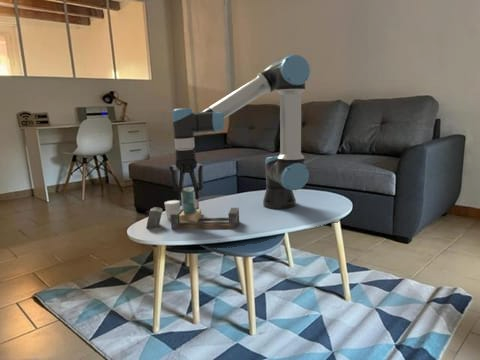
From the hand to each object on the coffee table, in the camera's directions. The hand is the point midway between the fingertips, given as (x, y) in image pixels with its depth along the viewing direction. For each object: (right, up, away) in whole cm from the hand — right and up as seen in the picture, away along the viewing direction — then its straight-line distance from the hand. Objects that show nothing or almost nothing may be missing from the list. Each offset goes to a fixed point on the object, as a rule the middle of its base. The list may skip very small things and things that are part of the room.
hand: (189, 207), depth 145 cm
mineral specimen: (-14, -8, +3) cm, 17 cm away
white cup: (-9, -6, +15) cm, 18 cm away
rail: (+6, -7, +1) cm, 10 cm away
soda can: (-2, -5, +18) cm, 18 cm away
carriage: (0, -5, +1) cm, 5 cm away
